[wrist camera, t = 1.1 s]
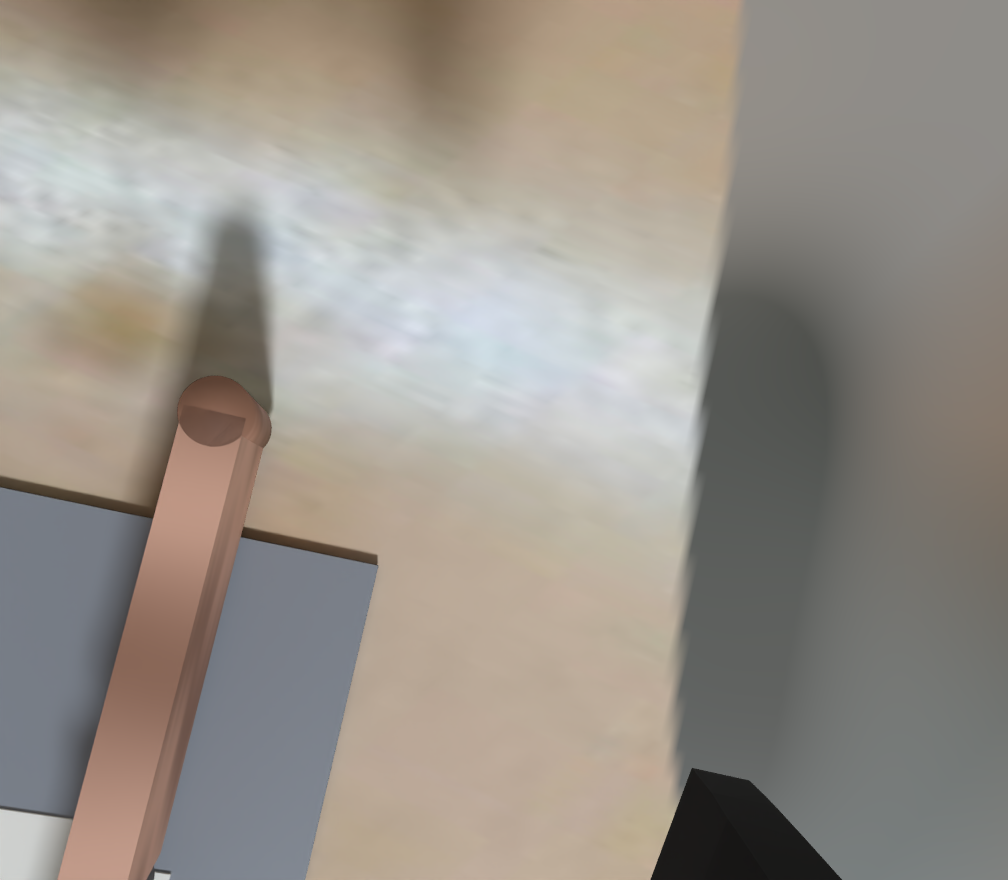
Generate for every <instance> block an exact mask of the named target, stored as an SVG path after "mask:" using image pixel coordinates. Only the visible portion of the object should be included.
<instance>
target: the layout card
mask: <svg viewBox="0 0 1008 880" xmlns="http://www.w3.org/2000/svg"><path fill="white" fill-rule="evenodd" d="M152 521H153V518H148V517H143V516H138V515H133V514H128V513H124V512H119V511H114V510H109V509H104V508H100V507H95V506H90V505H85V504H80V503H75V502H71V501H66V500H61V499H56V498H51V497H47V496H42V495H37V494H32V493H27V492H22V491H18V490H13V489H8V488H3V487H0V880H57V879H58V875H59V871H60V868H61V864H62V860H63V856H64V853H65V849H66V845H67V841H68V838H69V834H70V830H71V826H72V823H73V819H74V815H75V811H76V807H77V804H78V800H79V796H80V792H81V789H82V785H83V781H84V777H85V774H86V770H87V766H88V762H89V759H90V755H91V751H92V747H93V743H94V740H95V736H96V732H97V728H98V725H99V721H100V717H101V713H102V710H103V706H104V702H105V698H106V695H107V691H108V687H109V683H110V680H111V676H112V672H113V668H114V664H115V661H116V657H117V653H118V649H119V646H120V642H121V638H122V634H123V631H124V627H125V623H126V619H127V616H128V612H129V608H130V604H131V600H132V597H133V593H134V589H135V585H136V582H137V578H138V574H139V570H140V567H141V563H142V559H143V555H144V552H145V548H146V544H147V540H148V537H149V533H150V529H151V525H152ZM377 569H378V565H374V564H370V563H365V562H360V561H355V560H350V559H346V558H341V557H336V556H331V555H326V554H321V553H317V552H312V551H307V550H302V549H297V548H292V547H288V546H283V545H278V544H273V543H268V542H264V541H259V540H254V539H249V538H244V537H240V541H239V545H238V549H237V553H236V557H235V561H234V565H233V569H232V573H231V577H230V581H229V585H228V589H227V593H226V597H225V601H224V605H223V609H222V613H221V616H220V620H219V624H218V628H217V632H216V636H215V640H214V644H213V648H212V652H211V656H210V660H209V664H208V668H207V672H206V676H205V680H204V684H203V688H202V692H201V695H200V699H199V703H198V707H197V711H196V715H195V719H194V723H193V727H192V731H191V735H190V739H189V743H188V747H187V751H186V755H185V759H184V763H183V767H182V771H181V775H180V778H179V782H178V786H177V790H176V794H175V798H174V802H173V806H172V810H171V814H170V818H169V822H168V826H167V830H166V834H165V838H164V842H163V846H162V850H161V853H160V855H159V857H158V859H157V861H156V863H155V864H154V869H155V876H154V880H305V878H306V873H307V869H308V865H309V861H310V856H311V852H312V848H313V843H314V839H315V835H316V831H317V826H318V822H319V818H320V813H321V809H322V805H323V801H324V796H325V792H326V788H327V783H328V779H329V775H330V771H331V766H332V762H333V758H334V753H335V749H336V745H337V741H338V736H339V732H340V728H341V723H342V719H343V715H344V711H345V706H346V702H347V698H348V693H349V689H350V685H351V680H352V676H353V672H354V668H355V663H356V659H357V655H358V650H359V646H360V642H361V638H362V633H363V629H364V625H365V620H366V616H367V612H368V608H369V603H370V599H371V595H372V590H373V586H374V582H375V578H376V573H377Z"/></svg>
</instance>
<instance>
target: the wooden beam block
mask: <svg viewBox="0 0 1008 880" xmlns="http://www.w3.org/2000/svg"><path fill="white" fill-rule="evenodd" d="M177 414H178V420H179V424H178V427H177V431H176V435H175V439H174V442H173V446H172V450H171V454H170V457H169V461H168V465H167V469H166V473H165V476H164V480H163V484H162V488H161V491H160V495H159V499H158V503H157V506H156V510H155V514H154V518H153V521H152V525H151V529H150V533H149V537H148V540H147V544H146V548H145V552H144V555H143V559H142V563H141V567H140V570H139V574H138V578H137V582H136V585H135V589H134V593H133V597H132V600H131V604H130V608H129V612H128V616H127V619H126V623H125V627H124V631H123V634H122V638H121V642H120V646H119V649H118V653H117V657H116V661H115V664H114V668H113V672H112V676H111V680H110V683H109V687H108V691H107V695H106V698H105V702H104V706H103V710H102V713H101V717H100V721H99V725H98V728H97V732H96V736H95V740H94V743H93V747H92V751H91V755H90V759H89V762H88V766H87V770H86V774H85V777H84V781H83V785H82V789H81V792H80V796H79V800H78V804H77V807H76V811H75V815H74V819H73V823H72V826H71V830H70V834H69V838H68V841H67V845H66V849H65V853H64V856H63V860H62V864H61V868H60V871H59V875H58V879H57V880H154V876H155V869H154V864H155V863H156V861H157V859H158V857H159V855H160V853H161V850H162V846H163V842H164V838H165V834H166V830H167V826H168V822H169V818H170V814H171V810H172V806H173V802H174V798H175V794H176V790H177V786H178V782H179V778H180V775H181V771H182V767H183V763H184V759H185V755H186V751H187V747H188V743H189V739H190V735H191V731H192V727H193V723H194V719H195V715H196V711H197V707H198V703H199V699H200V695H201V692H202V688H203V684H204V680H205V676H206V672H207V668H208V664H209V660H210V656H211V652H212V648H213V644H214V640H215V636H216V632H217V628H218V624H219V620H220V616H221V613H222V609H223V605H224V601H225V597H226V593H227V589H228V585H229V581H230V577H231V573H232V569H233V565H234V561H235V557H236V553H237V549H238V545H239V541H240V537H241V533H242V530H243V526H244V522H245V518H246V514H247V510H248V506H249V502H250V498H251V494H252V490H253V486H254V482H255V478H256V474H257V470H258V466H259V462H260V458H261V454H262V450H263V448H264V447H265V446H266V444H267V443H268V441H269V439H270V436H271V429H272V427H271V421H270V418H269V416H268V414H267V413H266V411H265V410H264V409H263V408H262V407H261V406H260V405H259V404H258V403H257V402H256V401H255V400H254V399H253V398H252V397H251V396H250V394H249V393H248V392H247V391H246V390H245V389H244V388H243V387H242V386H241V385H240V384H238V383H237V382H235V381H234V380H232V379H229V378H226V377H223V376H207V377H203V378H200V379H198V380H196V381H195V382H193V383H192V384H190V385H189V386H188V387H187V388H186V389H185V391H184V392H183V393H182V395H181V397H180V400H179V403H178V409H177Z"/></svg>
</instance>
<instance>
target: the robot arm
mask: <svg viewBox="0 0 1008 880" xmlns="http://www.w3.org/2000/svg"><path fill="white" fill-rule="evenodd" d="M651 880H842V879H841V878H840V877H839V876H838V875H837V874H836V873H835V872H834V870H833V869H832V868H831V867H830V866H829V865H828V864H827V863H826V861H825V860H824V859H823V858H822V857H821V856H820V855H819V854H818V853H817V852H816V850H815V849H814V848H813V847H812V846H811V845H810V844H809V843H808V841H807V840H806V839H805V838H804V837H803V836H802V835H801V834H800V833H799V832H798V831H797V829H796V828H795V827H794V826H793V825H792V824H791V823H790V822H789V821H788V820H787V819H786V818H785V816H784V815H783V814H782V813H781V812H780V811H779V810H778V809H777V808H776V807H775V806H774V805H773V804H772V803H771V802H770V801H769V800H768V798H766V796H765V795H764V794H763V793H761V792H760V791H759V790H758V789H757V788H756V787H755V786H754V785H753V784H752V783H751V782H750V781H749V780H744V779H739V778H735V777H731V776H726V775H722V774H717V773H712V772H708V771H703V770H699V769H694V768H692V769H691V772H690V775H689V777H688V780H687V783H686V786H685V788H684V791H683V794H682V796H681V799H680V802H679V804H678V807H677V810H676V812H675V815H674V818H673V820H672V823H671V826H670V829H669V831H668V834H667V837H666V839H665V842H664V845H663V847H662V850H661V853H660V856H659V858H658V861H657V864H656V866H655V869H654V872H653V874H652V877H651Z"/></svg>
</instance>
